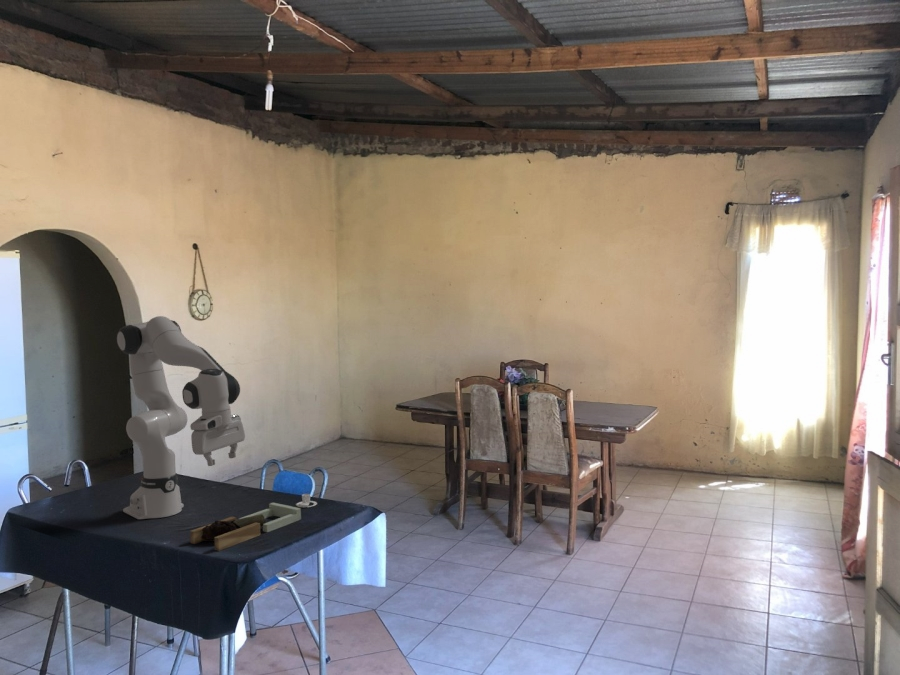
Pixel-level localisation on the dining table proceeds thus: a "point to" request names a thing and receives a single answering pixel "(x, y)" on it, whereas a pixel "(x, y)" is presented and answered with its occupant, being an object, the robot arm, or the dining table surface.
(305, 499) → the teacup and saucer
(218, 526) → the dark piece
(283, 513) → the frame
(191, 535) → the oak channel
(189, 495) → the dining table surface
